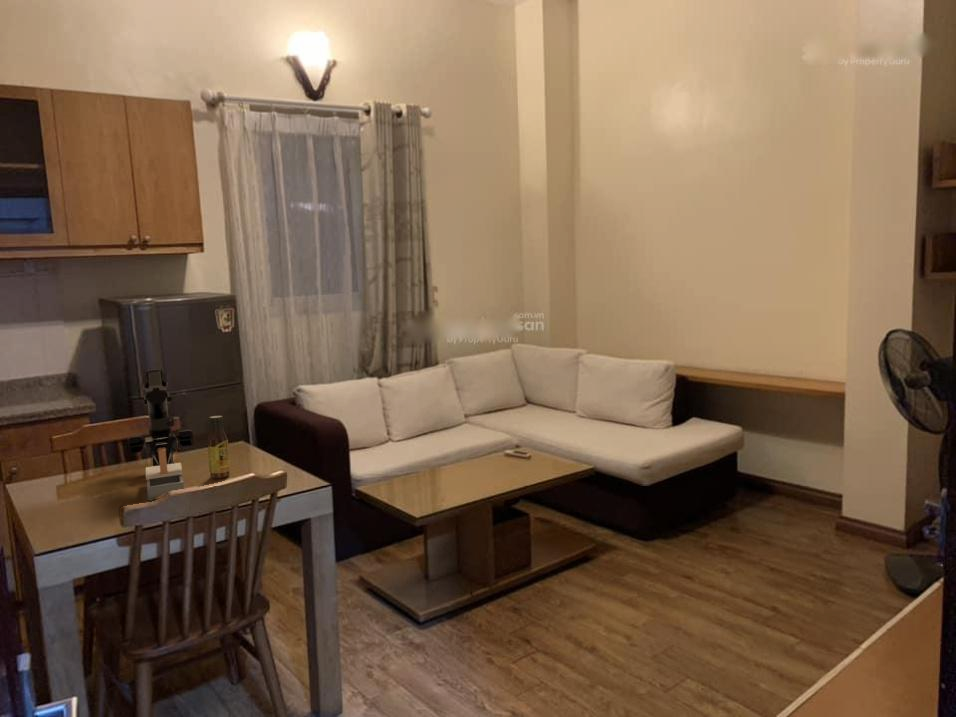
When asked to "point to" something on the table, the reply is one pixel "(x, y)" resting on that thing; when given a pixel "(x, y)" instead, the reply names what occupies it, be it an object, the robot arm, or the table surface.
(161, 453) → the lid
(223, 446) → the sauce bottle
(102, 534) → the table surface
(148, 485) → the parts tub
